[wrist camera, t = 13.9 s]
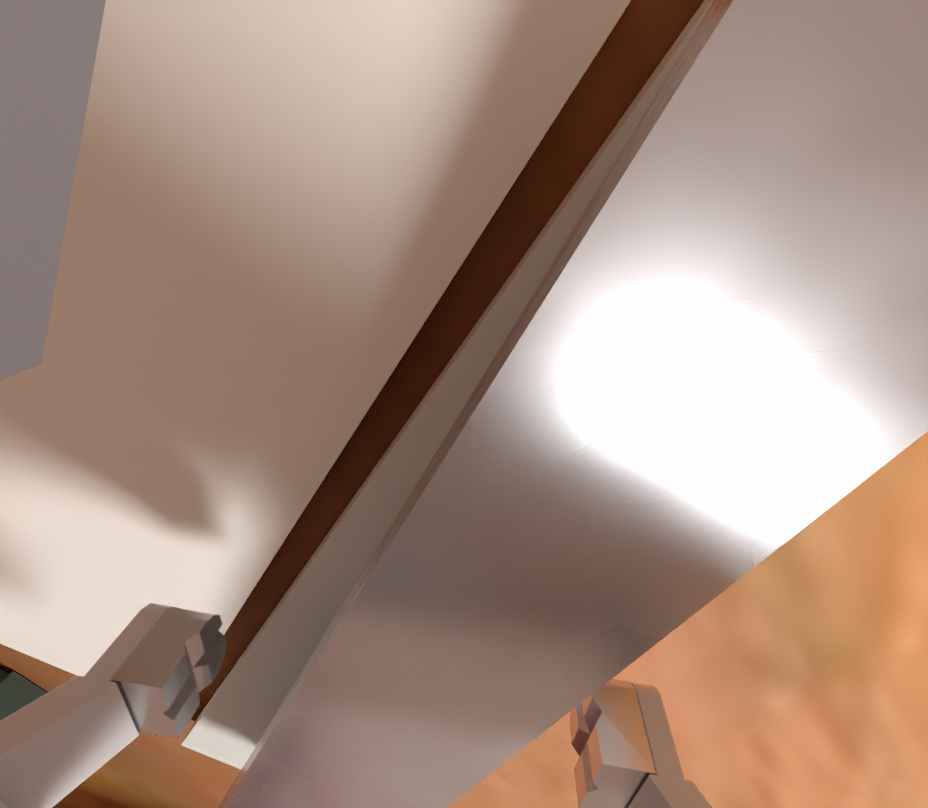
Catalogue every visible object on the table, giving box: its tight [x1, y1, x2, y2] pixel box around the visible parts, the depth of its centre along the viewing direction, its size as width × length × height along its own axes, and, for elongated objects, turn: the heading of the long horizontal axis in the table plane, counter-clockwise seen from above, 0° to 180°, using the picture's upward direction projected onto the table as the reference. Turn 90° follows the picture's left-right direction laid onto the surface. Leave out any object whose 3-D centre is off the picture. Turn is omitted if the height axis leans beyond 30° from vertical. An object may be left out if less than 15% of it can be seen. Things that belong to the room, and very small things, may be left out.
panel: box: [181, 0, 713, 769], centre depth 12 cm, size 28×5×1 cm, turn 146°
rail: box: [218, 0, 928, 808], centre depth 10 cm, size 24×4×3 cm, turn 152°
